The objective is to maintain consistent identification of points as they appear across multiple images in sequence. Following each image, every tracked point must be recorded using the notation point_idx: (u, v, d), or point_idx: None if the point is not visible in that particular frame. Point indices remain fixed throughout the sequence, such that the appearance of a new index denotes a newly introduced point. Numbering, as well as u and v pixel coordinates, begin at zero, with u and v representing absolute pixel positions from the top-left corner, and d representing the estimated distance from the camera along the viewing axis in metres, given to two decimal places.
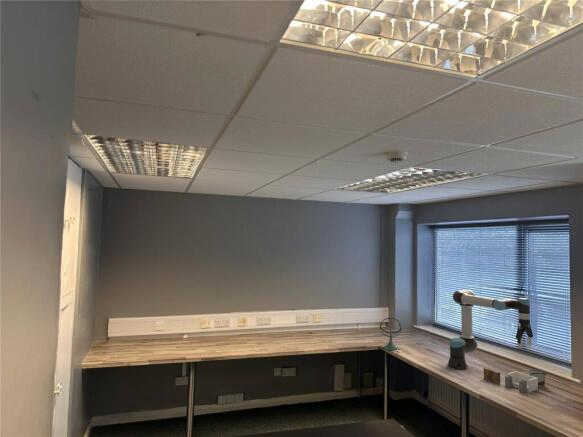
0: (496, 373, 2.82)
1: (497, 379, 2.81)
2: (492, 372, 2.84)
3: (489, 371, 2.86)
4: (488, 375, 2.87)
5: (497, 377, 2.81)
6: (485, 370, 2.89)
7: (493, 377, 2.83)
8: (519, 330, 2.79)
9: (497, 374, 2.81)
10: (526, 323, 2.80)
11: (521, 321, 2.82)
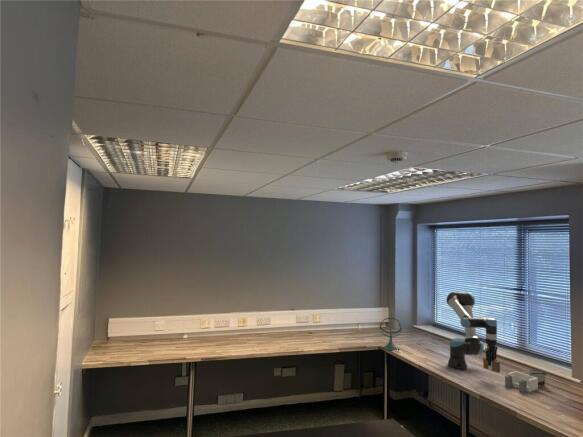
0: (496, 362, 2.82)
1: (497, 368, 2.82)
2: (492, 361, 2.85)
3: None
4: None
5: (497, 366, 2.82)
6: (485, 359, 2.90)
7: (493, 366, 2.84)
8: (487, 353, 2.84)
9: (497, 363, 2.82)
10: (493, 343, 2.84)
11: (488, 341, 2.86)
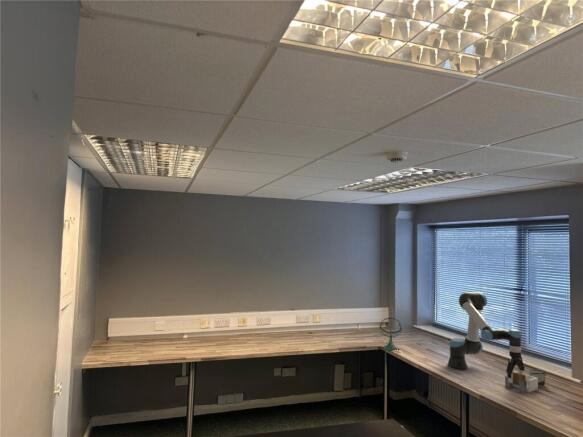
0: (521, 376, 2.66)
1: None
2: (517, 375, 2.69)
3: (513, 374, 2.71)
4: None
5: (522, 380, 2.65)
6: None
7: (518, 380, 2.68)
8: (510, 364, 2.67)
9: (522, 377, 2.65)
10: (517, 356, 2.68)
11: (512, 354, 2.70)
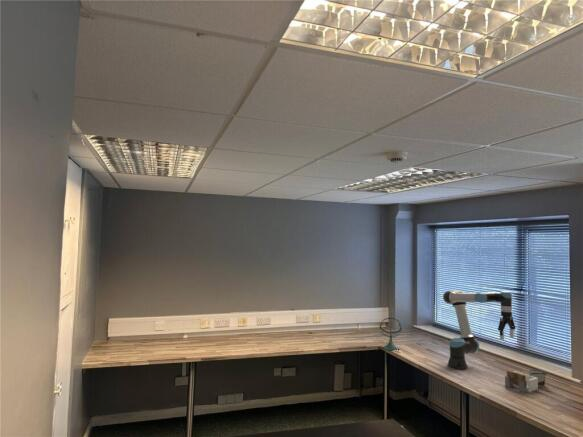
0: (521, 376, 2.66)
1: None
2: (517, 375, 2.69)
3: (513, 374, 2.71)
4: (512, 378, 2.71)
5: (522, 380, 2.65)
6: (509, 373, 2.74)
7: (518, 380, 2.68)
8: (501, 322, 2.86)
9: (522, 377, 2.65)
10: (508, 315, 2.87)
11: (503, 313, 2.89)
